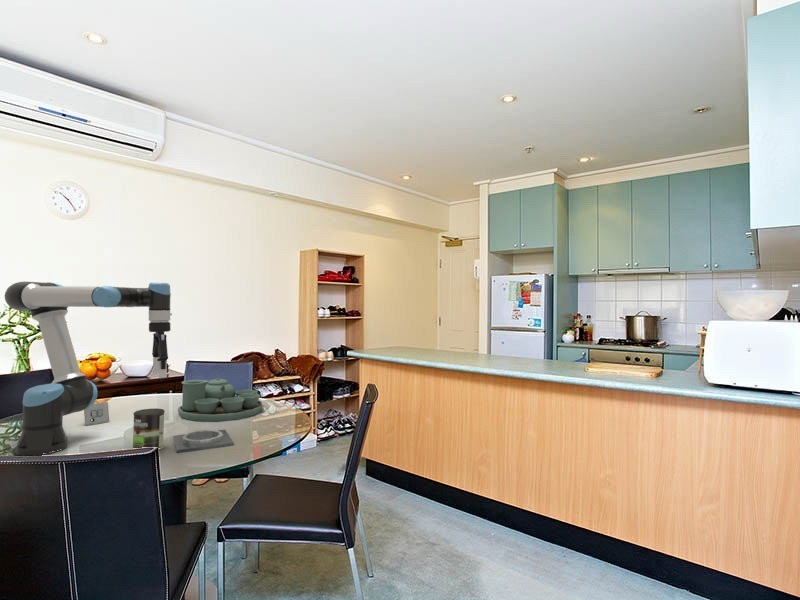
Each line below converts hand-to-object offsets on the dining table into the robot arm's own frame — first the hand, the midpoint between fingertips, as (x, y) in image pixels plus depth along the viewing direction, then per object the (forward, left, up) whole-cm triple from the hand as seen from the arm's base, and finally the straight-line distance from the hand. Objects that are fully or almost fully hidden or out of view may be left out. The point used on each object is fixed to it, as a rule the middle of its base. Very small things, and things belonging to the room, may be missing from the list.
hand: (159, 375), depth 175 cm
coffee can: (-3, -6, -27) cm, 28 cm away
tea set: (+30, +43, -27) cm, 59 cm away
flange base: (+16, -6, -27) cm, 31 cm away
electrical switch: (-23, +44, -27) cm, 57 cm away
